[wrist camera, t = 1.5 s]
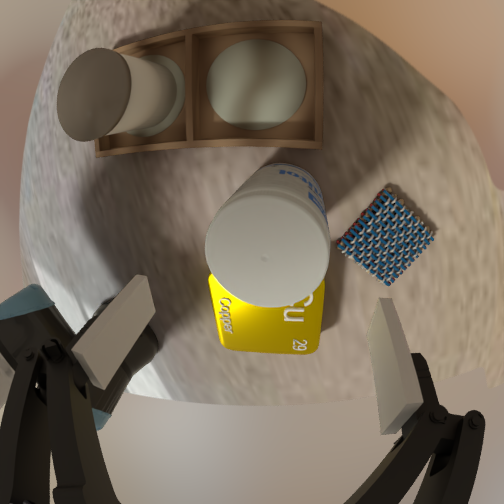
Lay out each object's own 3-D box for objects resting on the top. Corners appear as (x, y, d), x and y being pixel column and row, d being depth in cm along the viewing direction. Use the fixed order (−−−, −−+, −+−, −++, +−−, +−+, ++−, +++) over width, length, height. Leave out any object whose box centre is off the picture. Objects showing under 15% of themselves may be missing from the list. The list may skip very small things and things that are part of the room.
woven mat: (385, 284, 36) (388, 292, 34) (332, 242, 34) (333, 250, 32) (434, 232, 31) (440, 238, 29) (384, 181, 29) (388, 185, 27)
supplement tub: (336, 185, 30) (360, 236, 17) (298, 248, 35) (293, 327, 22) (262, 147, 30) (230, 169, 17) (230, 214, 34) (186, 277, 21)
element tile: (214, 253, 38) (203, 270, 34) (324, 254, 35) (326, 273, 31) (227, 331, 45) (220, 352, 40) (317, 336, 42) (317, 358, 38)
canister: (118, 134, 31) (59, 148, 21) (116, 70, 26) (57, 65, 17) (179, 126, 29) (126, 133, 20) (178, 54, 25) (126, 35, 15)
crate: (109, 153, 33) (96, 157, 30) (105, 59, 26) (92, 57, 24) (320, 147, 28) (322, 149, 26) (319, 30, 22) (321, 21, 19)
